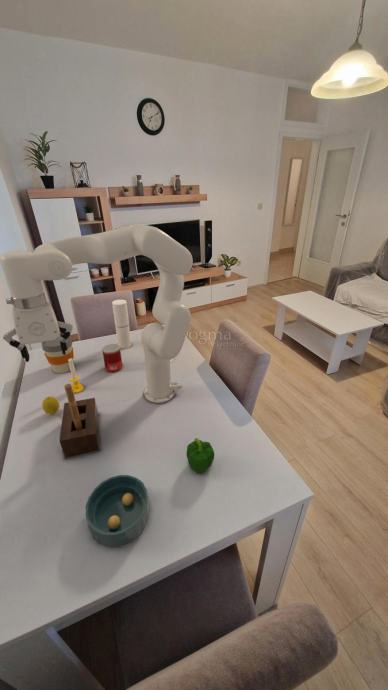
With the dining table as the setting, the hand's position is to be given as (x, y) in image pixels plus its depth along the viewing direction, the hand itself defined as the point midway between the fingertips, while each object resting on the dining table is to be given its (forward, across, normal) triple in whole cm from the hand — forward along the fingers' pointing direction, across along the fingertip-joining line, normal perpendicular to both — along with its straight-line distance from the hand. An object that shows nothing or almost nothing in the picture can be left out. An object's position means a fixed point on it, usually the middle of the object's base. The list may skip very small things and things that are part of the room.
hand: (46, 355), depth 81 cm
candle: (+32, +4, +25) cm, 41 cm away
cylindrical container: (+32, +31, +55) cm, 71 cm away
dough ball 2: (+30, +13, -33) cm, 47 cm away
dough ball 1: (+30, +9, -38) cm, 49 cm away
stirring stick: (+32, +4, -6) cm, 33 cm away
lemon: (+32, -5, +13) cm, 35 cm away
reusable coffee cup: (+32, 0, +44) cm, 55 cm away
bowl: (+32, +11, -35) cm, 49 cm away
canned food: (+32, +22, +35) cm, 52 cm away
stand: (+32, +4, -2) cm, 32 cm away
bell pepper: (+32, +36, -30) cm, 57 cm away
